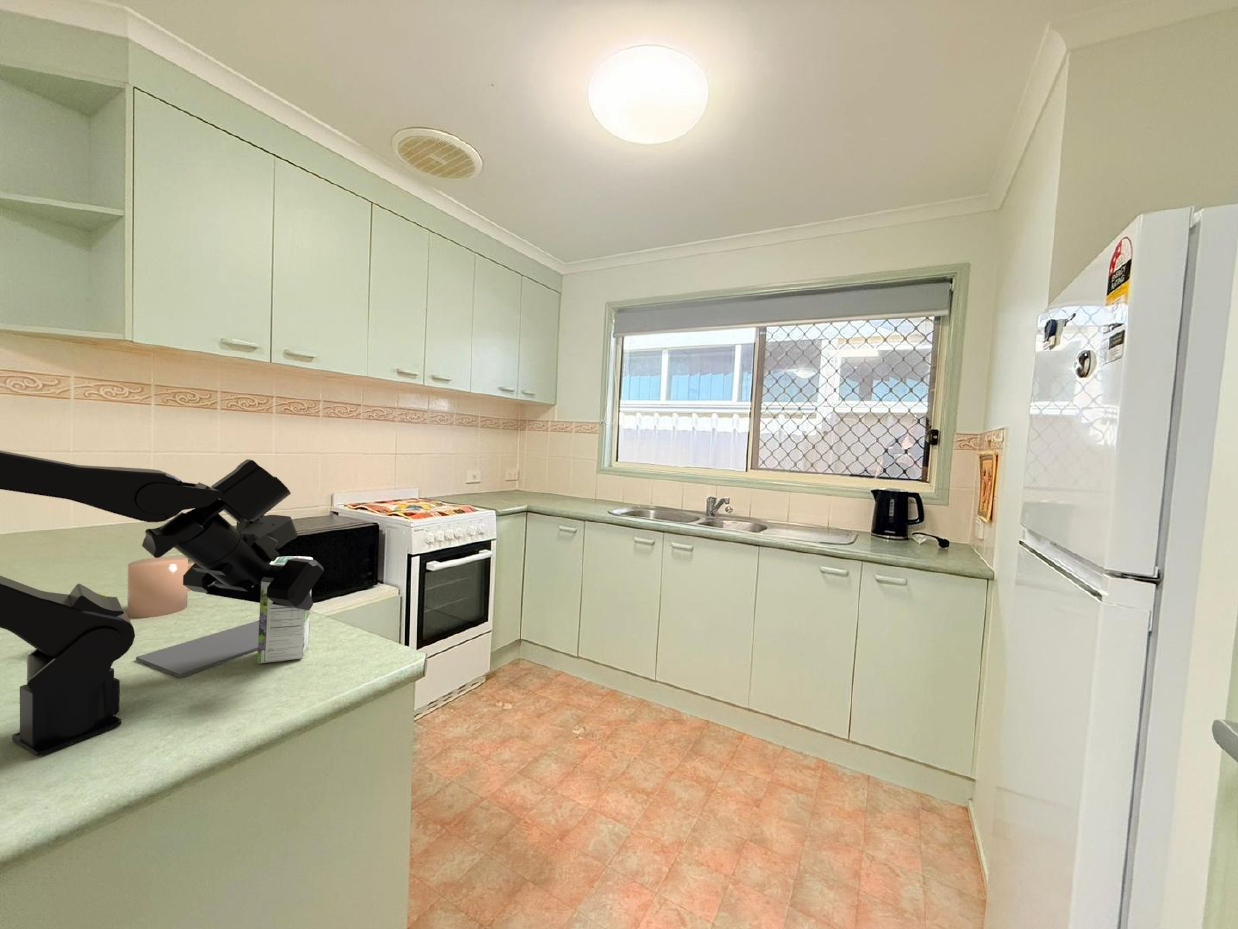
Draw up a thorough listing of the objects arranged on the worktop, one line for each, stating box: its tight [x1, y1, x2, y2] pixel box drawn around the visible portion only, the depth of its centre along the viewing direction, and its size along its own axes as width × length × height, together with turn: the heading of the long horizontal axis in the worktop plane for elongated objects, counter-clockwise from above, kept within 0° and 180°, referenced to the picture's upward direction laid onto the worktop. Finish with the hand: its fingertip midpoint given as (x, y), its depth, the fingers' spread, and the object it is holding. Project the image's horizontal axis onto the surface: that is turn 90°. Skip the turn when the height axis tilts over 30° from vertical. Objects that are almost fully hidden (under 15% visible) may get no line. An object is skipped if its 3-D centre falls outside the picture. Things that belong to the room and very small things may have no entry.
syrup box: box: [256, 555, 314, 664], centre depth 74 cm, size 6×6×14 cm
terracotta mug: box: [126, 556, 194, 619], centre depth 90 cm, size 10×8×9 cm
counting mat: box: [135, 619, 259, 679], centre depth 76 cm, size 18×11×1 cm, turn 158°
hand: (288, 604), depth 74 cm, fingers closed on syrup box, 8 cm apart
